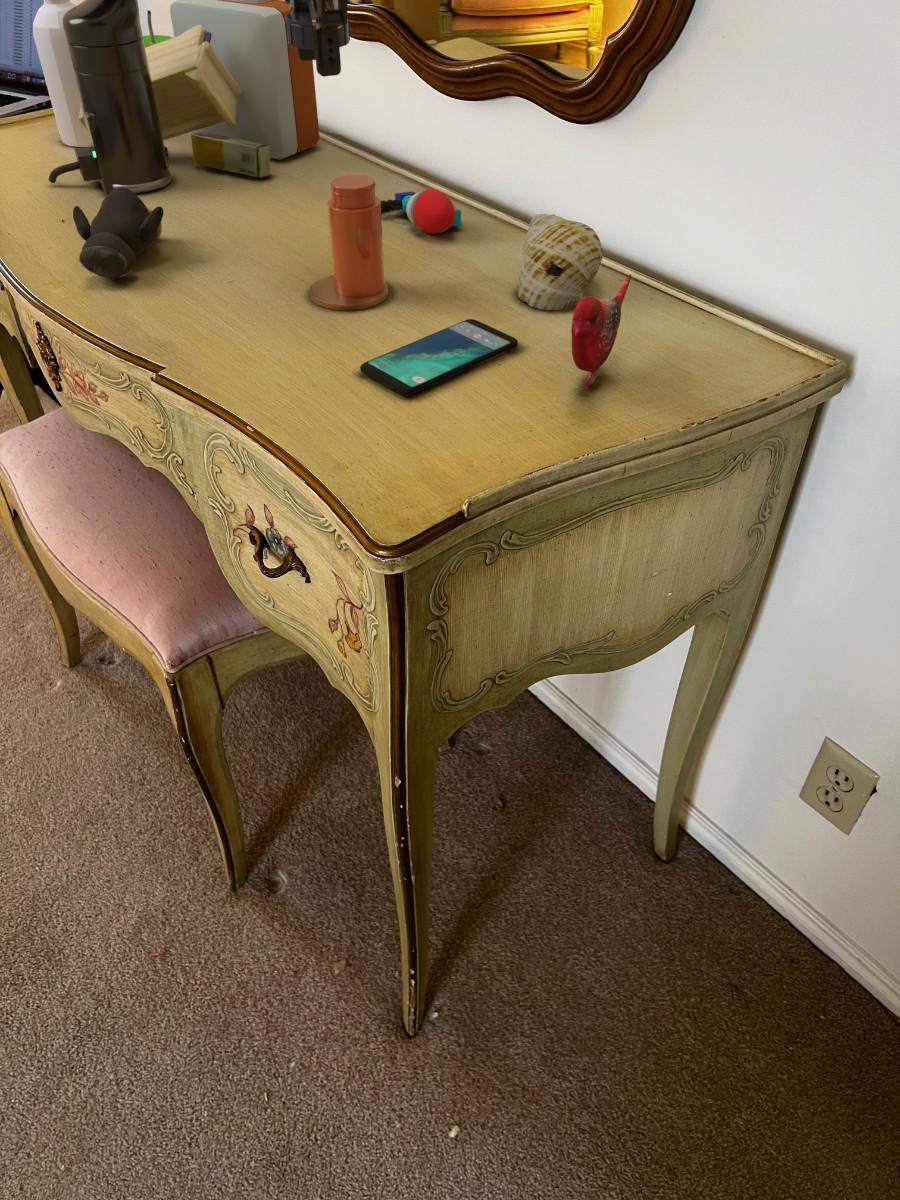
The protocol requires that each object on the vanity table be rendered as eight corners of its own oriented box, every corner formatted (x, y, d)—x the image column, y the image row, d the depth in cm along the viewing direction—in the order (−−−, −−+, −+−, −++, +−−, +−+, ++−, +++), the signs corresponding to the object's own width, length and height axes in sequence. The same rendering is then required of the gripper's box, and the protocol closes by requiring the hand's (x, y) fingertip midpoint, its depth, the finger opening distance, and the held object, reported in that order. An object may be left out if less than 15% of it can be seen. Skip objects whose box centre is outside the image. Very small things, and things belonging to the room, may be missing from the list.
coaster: (324, 316, 96) (324, 310, 96) (301, 285, 102) (300, 280, 102) (399, 302, 99) (399, 296, 98) (372, 272, 104) (372, 267, 104)
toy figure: (369, 223, 120) (421, 241, 109) (367, 181, 117) (420, 195, 106) (421, 217, 123) (477, 235, 112) (420, 177, 120) (477, 190, 109)
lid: (338, 34, 91) (337, 8, 90) (357, 46, 87) (356, 19, 86) (281, 38, 89) (278, 12, 88) (297, 51, 85) (294, 23, 84)
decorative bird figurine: (551, 415, 82) (560, 306, 75) (609, 331, 94) (621, 231, 87) (583, 421, 81) (595, 313, 74) (636, 336, 93) (651, 236, 86)
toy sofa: (240, 127, 128) (245, 71, 131) (205, 76, 120) (210, 18, 124) (114, 167, 134) (121, 113, 138) (73, 121, 126) (81, 65, 130)
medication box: (272, 175, 129) (271, 144, 127) (260, 179, 127) (258, 147, 125) (204, 160, 133) (201, 130, 131) (191, 163, 131) (188, 132, 129)
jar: (361, 302, 97) (353, 194, 90) (324, 289, 100) (314, 182, 92) (395, 285, 100) (390, 179, 93) (358, 273, 103) (351, 169, 96)
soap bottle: (45, 143, 141) (-8, -46, 125) (92, 128, 147) (48, -55, 131) (84, 152, 137) (36, -41, 121) (131, 136, 143) (91, -50, 127)
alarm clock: (322, 147, 138) (308, -16, 125) (284, 162, 133) (265, -6, 119) (230, 128, 146) (207, -28, 132) (190, 142, 140) (162, -19, 127)
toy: (100, 238, 112) (59, 289, 101) (84, 176, 108) (40, 223, 97) (183, 238, 112) (152, 290, 101) (171, 176, 108) (137, 223, 96)
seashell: (551, 315, 95) (527, 213, 91) (507, 322, 103) (484, 229, 100) (631, 289, 98) (611, 190, 95) (582, 299, 106) (562, 208, 103)
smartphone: (521, 339, 90) (405, 392, 83) (521, 346, 91) (406, 399, 83) (470, 316, 94) (355, 364, 87) (470, 323, 95) (356, 372, 87)
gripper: (236, -162, 82) (261, 54, 93) (281, -150, 72) (303, 90, 84) (317, -164, 84) (332, 47, 96) (372, -152, 75) (381, 81, 86)
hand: (319, 66), depth 90 cm, fingers closed on lid, 5 cm apart
